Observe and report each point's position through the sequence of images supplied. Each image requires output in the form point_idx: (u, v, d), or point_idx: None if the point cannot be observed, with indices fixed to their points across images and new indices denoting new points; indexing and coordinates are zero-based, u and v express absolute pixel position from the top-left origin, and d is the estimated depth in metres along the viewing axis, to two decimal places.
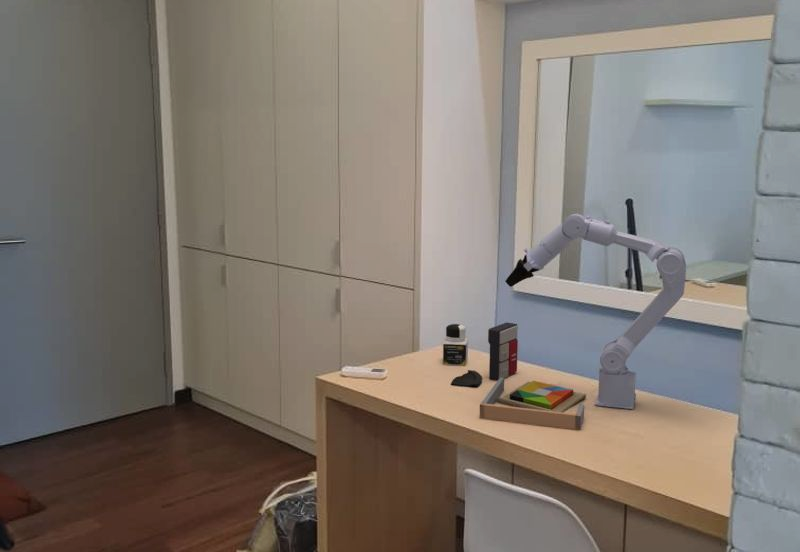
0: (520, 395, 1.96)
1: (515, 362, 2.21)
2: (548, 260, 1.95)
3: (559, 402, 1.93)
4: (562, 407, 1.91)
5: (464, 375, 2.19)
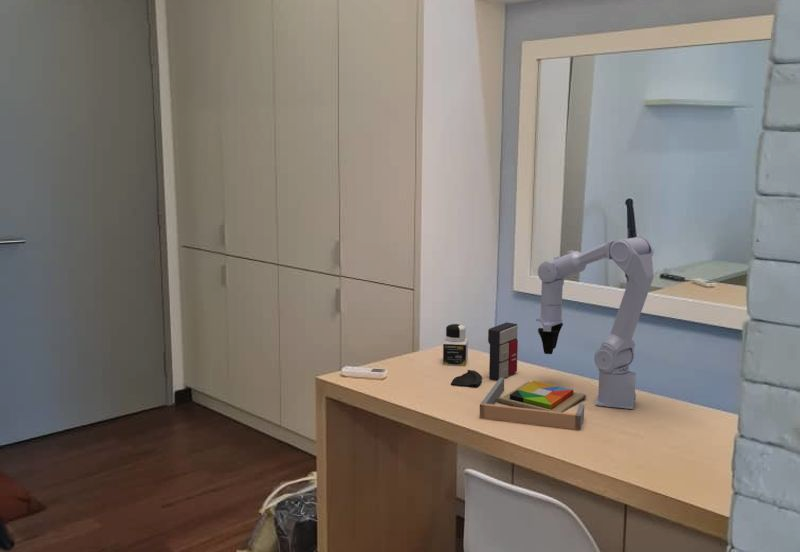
0: (520, 395, 1.96)
1: (515, 362, 2.21)
2: (559, 311, 2.05)
3: (559, 402, 1.93)
4: (562, 407, 1.91)
5: (464, 375, 2.19)
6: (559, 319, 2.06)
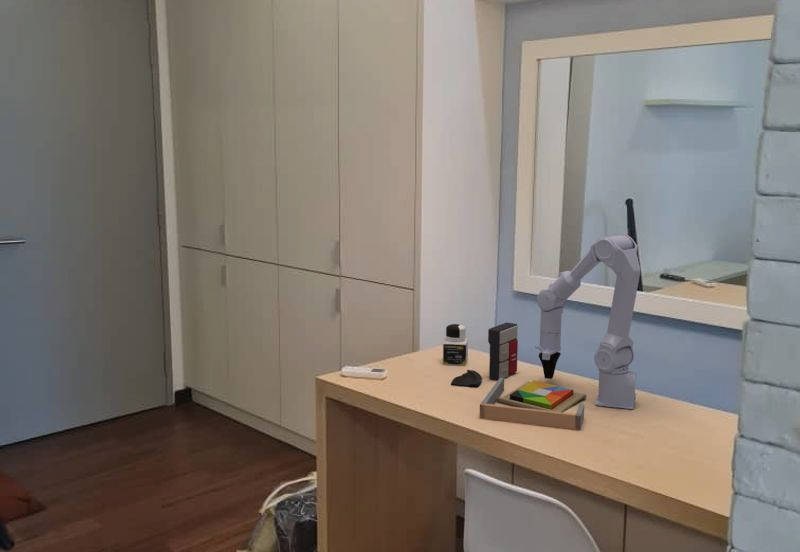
0: (520, 395, 1.96)
1: (515, 362, 2.21)
2: (558, 339, 2.07)
3: (559, 402, 1.93)
4: (562, 407, 1.91)
5: (463, 375, 2.19)
6: (558, 347, 2.07)
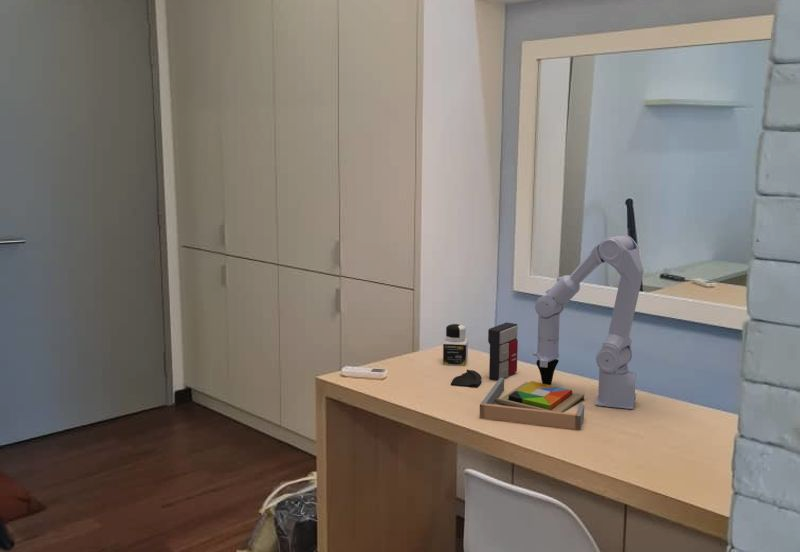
0: (519, 396, 1.95)
1: (515, 362, 2.21)
2: (555, 346, 2.03)
3: (558, 402, 1.92)
4: (561, 407, 1.90)
5: (463, 375, 2.19)
6: (556, 354, 2.04)
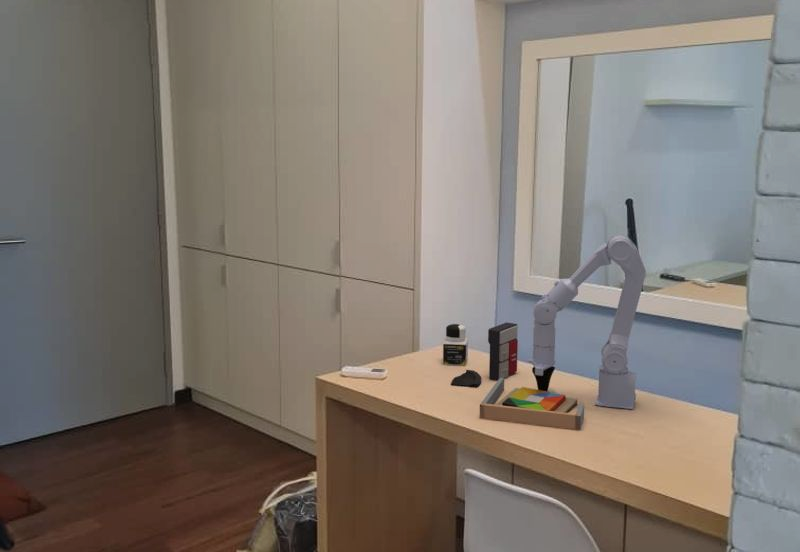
0: (513, 403, 1.89)
1: (515, 362, 2.21)
2: (551, 353, 1.96)
3: (554, 409, 1.87)
4: None
5: (463, 375, 2.19)
6: (552, 361, 1.97)
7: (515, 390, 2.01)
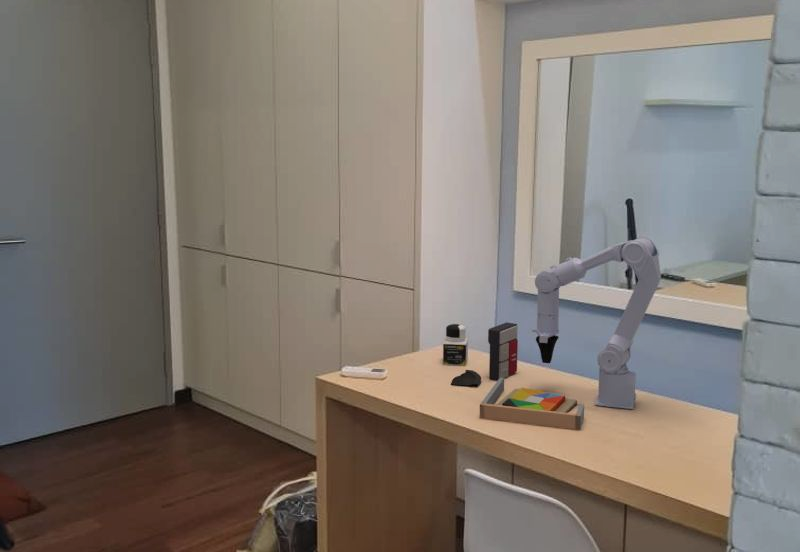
0: (513, 404, 1.89)
1: (515, 362, 2.21)
2: (555, 322, 2.00)
3: (554, 409, 1.87)
4: None
5: (462, 375, 2.19)
6: (556, 330, 2.00)
7: (515, 391, 2.01)
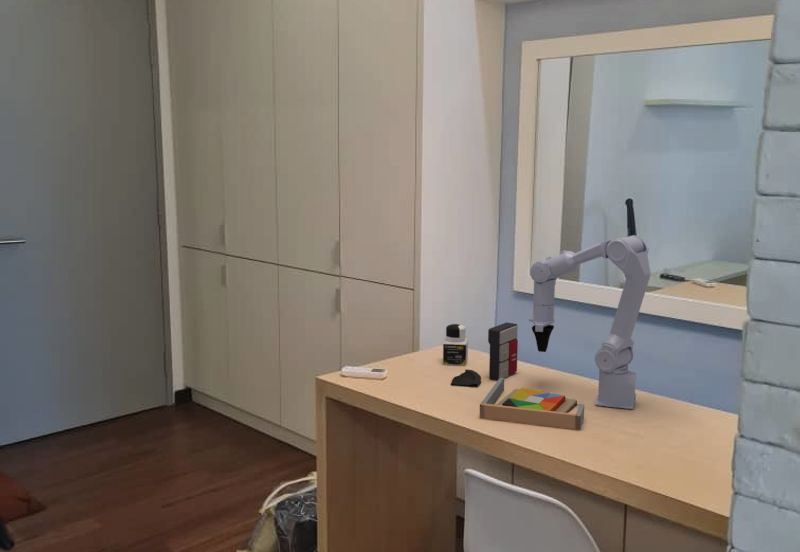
0: (513, 404, 1.89)
1: (515, 362, 2.21)
2: (551, 311, 2.05)
3: (554, 409, 1.87)
4: None
5: (462, 375, 2.19)
6: (551, 319, 2.06)
7: (515, 391, 2.01)
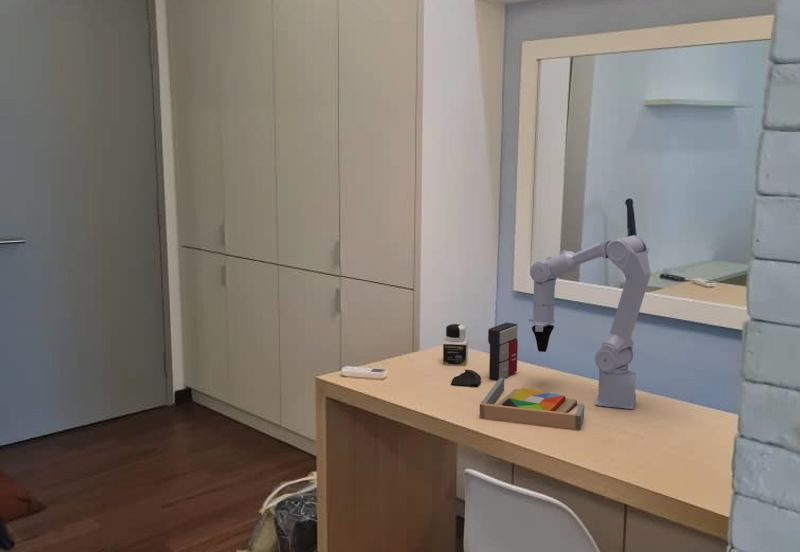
0: (513, 404, 1.89)
1: (515, 362, 2.21)
2: (551, 311, 2.05)
3: (554, 409, 1.87)
4: None
5: (462, 375, 2.19)
6: (551, 319, 2.06)
7: (515, 391, 2.01)
